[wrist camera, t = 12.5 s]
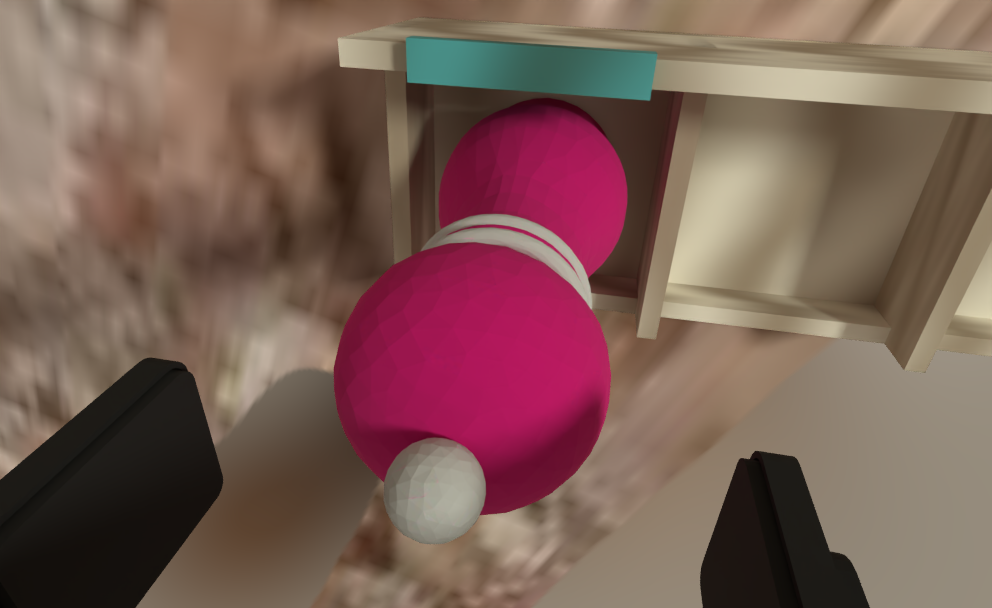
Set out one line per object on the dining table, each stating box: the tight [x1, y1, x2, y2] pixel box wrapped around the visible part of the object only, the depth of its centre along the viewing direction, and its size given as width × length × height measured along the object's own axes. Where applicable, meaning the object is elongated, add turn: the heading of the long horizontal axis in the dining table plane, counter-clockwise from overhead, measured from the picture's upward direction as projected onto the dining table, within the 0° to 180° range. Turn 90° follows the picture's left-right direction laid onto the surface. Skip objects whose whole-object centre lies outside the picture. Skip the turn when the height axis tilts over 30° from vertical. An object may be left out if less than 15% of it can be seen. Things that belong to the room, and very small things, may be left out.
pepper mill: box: [334, 98, 627, 544], centre depth 18 cm, size 7×7×20 cm
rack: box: [338, 17, 992, 373], centre depth 22 cm, size 33×12×9 cm, turn 87°
